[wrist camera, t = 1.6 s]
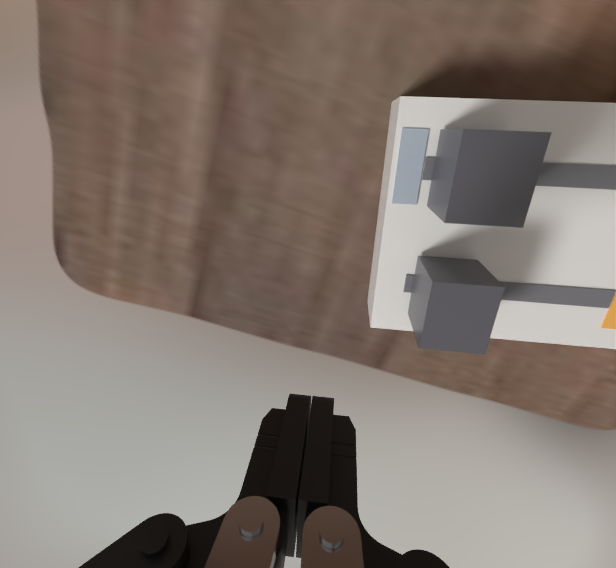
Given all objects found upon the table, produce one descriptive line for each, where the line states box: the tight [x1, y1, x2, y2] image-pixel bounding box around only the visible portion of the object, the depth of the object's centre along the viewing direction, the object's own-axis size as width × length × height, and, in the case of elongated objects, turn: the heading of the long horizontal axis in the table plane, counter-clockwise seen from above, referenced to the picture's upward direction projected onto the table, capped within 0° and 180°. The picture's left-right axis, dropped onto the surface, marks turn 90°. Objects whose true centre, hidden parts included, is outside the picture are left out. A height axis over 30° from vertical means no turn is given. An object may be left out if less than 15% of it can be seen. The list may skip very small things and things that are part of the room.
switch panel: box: [368, 96, 616, 349], centre depth 22 cm, size 16×14×4 cm
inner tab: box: [427, 129, 552, 228], centre depth 17 cm, size 4×4×4 cm
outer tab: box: [408, 256, 505, 354], centre depth 20 cm, size 4×4×4 cm
